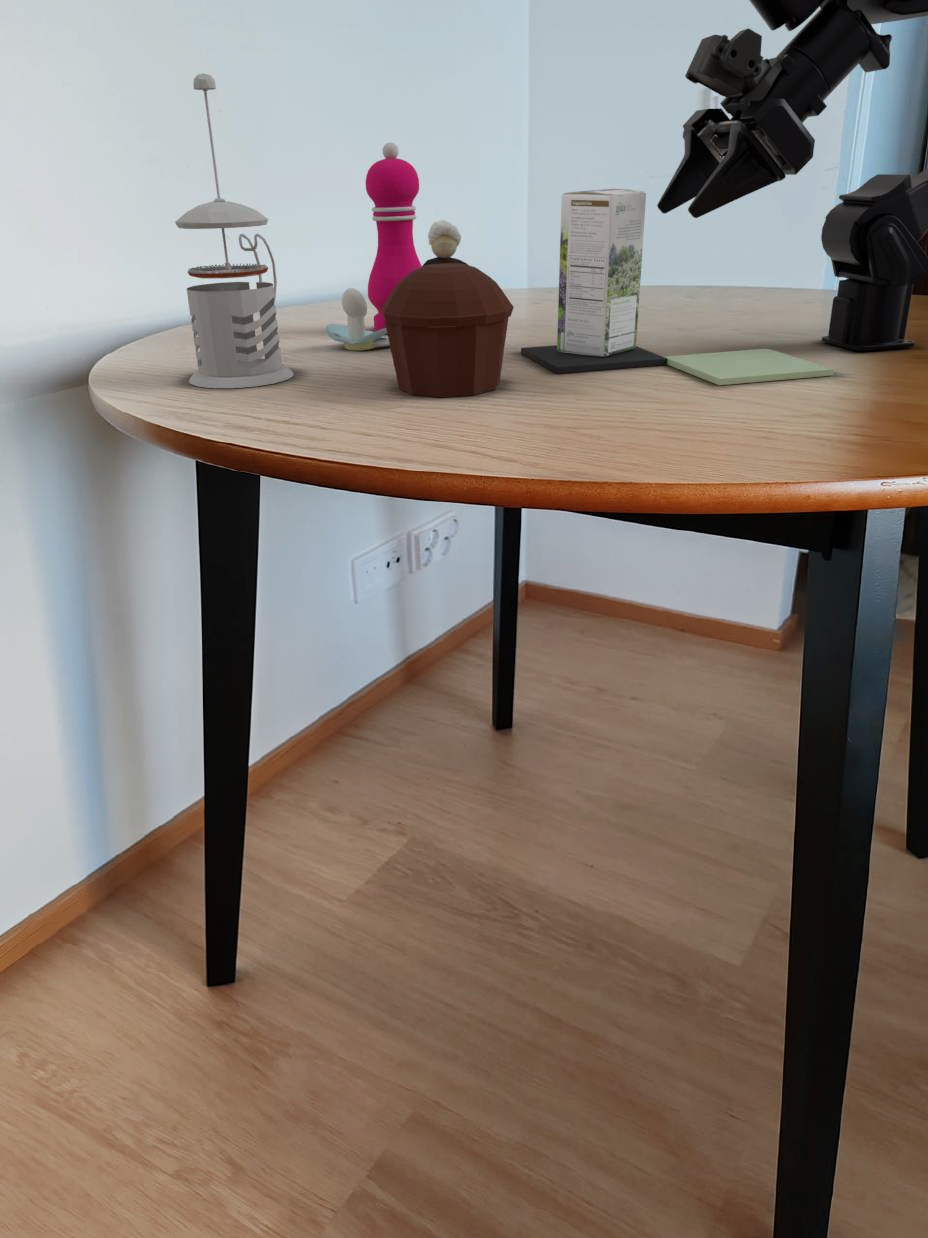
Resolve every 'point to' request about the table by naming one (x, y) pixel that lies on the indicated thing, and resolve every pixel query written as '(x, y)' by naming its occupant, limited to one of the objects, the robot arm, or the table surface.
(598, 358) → the charcoal mat
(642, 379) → the table surface
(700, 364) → the sage mat
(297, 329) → the table surface
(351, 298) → the pacifier
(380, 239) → the pepper mill
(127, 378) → the table surface
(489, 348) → the muffin
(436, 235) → the grandmother figurine
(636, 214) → the syrup box
